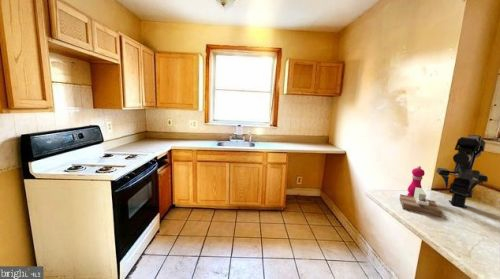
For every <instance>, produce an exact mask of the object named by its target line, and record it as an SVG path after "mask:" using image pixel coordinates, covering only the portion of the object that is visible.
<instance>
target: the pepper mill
mask: <svg viewBox="0 0 500 279" xmlns="http://www.w3.org/2000/svg"><path fill="white" fill-rule="evenodd" d="M424 176H425V170H424V169H422V166H420V165H418V166H417V167H415V168H413V169H412V170H411V178H412V181H411V183H410V184H409V185H408V186H407V191H408V192H407V195H406V196H411V197H414V193H415V188H416V187H417V188H422V180H423V177H424ZM422 189H423V188H422Z"/></svg>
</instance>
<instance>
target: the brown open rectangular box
mask: <svg viewBox="0 0 500 279" xmlns="http://www.w3.org/2000/svg"><path fill="white" fill-rule="evenodd" d="M425 200H428V202H429V206H428V205H423V204H417V202H416V200H415V198H414V197H411V196H407V195H406V194H399V202H400V206H401V208H402V210H404V211H405V210H406V211H410V212H415V213H418V214H419V213H420V214H422V215H423V214H425V215H429V216H433V217H438V218H442V214H443V211H442V210H441V208H440V207H439V205H438V204H437V202H436V201H435V200H433V199H432V200H431V199H427V198H426V199H425V198H421V200H420V201H423V202H425Z"/></svg>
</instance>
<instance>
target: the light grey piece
mask: <svg viewBox="0 0 500 279" xmlns="http://www.w3.org/2000/svg"><path fill="white" fill-rule="evenodd" d="M414 198H415V200H416V202H417V204H423V205H428V206H429V202H428V200H429V199H427V194H426V192H425V191H424V189H423V188H417V187H416V188H415V193H414ZM421 198H425V199H427V200H425V202H423V201H420V200H421Z"/></svg>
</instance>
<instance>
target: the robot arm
mask: <svg viewBox="0 0 500 279" xmlns="http://www.w3.org/2000/svg"><path fill="white" fill-rule="evenodd" d="M482 137H483V136H482V135H480V134H479V135H478V134H468V136H467V137H465V136H460V137H459V138H458V139H457V141H456V144H455V147H454V151H457V153H456V154H454V155H453V157H452V159H453V161H454V168H453V170H449V169H448V168H443V167H437V168H436V173H437V174H438V175H440V176H441V178H442V180H443V184H444V187H445V189H448V184H449V179H450V175H451V176H457V177H454V178H453V180H452V182H451V183H450V185H449V186H450V187H449V194H452V195H451V199H449V200H448V202H449V203H450V204H451V206H456V207H461V208H465V209H467V208H468V206H467V205H466V201H467V199H472V198H473V193H474V190H473V189H474V188H475V186H477V185H478V184H483V183H488V181H489V178H488V176H487V175H486V174H484V173H481V172H480V170H475V169H474V166H475V162H476V159H477V158H479V157H480V156H482V153H483V152H485V148H486V143H487V142H486V141H485V140H484V139H483V138H482Z"/></svg>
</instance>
